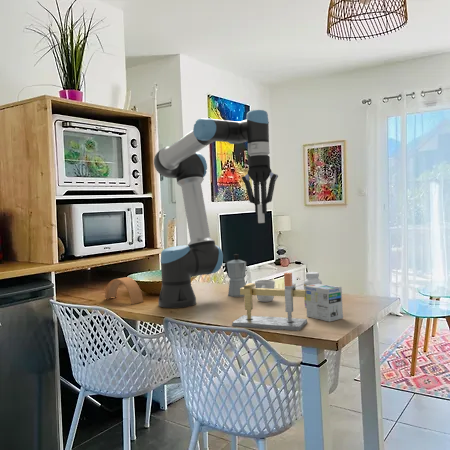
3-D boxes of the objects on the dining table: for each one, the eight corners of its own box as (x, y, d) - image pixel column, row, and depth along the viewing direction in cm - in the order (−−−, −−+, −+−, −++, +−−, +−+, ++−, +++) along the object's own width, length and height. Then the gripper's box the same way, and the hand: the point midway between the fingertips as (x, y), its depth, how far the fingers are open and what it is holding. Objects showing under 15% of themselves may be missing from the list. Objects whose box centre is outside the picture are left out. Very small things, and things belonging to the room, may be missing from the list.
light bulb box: (343, 318, 151) (342, 286, 151) (329, 322, 147) (328, 289, 147) (319, 313, 160) (318, 282, 160) (305, 316, 156) (304, 285, 156)
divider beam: (238, 319, 151) (236, 285, 151) (243, 315, 156) (242, 282, 155) (303, 323, 142) (302, 287, 142) (307, 319, 147) (306, 284, 146)
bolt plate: (232, 326, 148) (232, 322, 148) (243, 318, 157) (243, 315, 157) (299, 330, 139) (299, 326, 139) (307, 322, 148) (306, 318, 148)
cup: (273, 304, 178) (273, 283, 178) (253, 304, 180) (252, 284, 179) (276, 298, 189) (275, 279, 188) (257, 298, 190) (256, 279, 190)
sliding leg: (285, 321, 145) (284, 273, 144) (290, 317, 150) (289, 270, 149) (292, 321, 144) (290, 273, 143) (296, 317, 149) (295, 271, 148)
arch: (131, 304, 189) (130, 280, 189) (104, 299, 203) (103, 277, 203) (143, 302, 194) (142, 278, 193) (116, 297, 207) (115, 275, 207)
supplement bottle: (326, 306, 170) (325, 272, 170) (316, 309, 166) (315, 274, 165) (311, 304, 175) (310, 271, 175) (301, 307, 170) (299, 273, 170)
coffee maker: (254, 295, 197) (253, 254, 197) (238, 298, 192) (236, 255, 192) (234, 291, 210) (232, 252, 209) (218, 294, 205) (216, 253, 204)
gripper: (237, 156, 159) (240, 223, 160) (273, 152, 154) (276, 222, 155) (245, 158, 166) (247, 222, 167) (279, 154, 161) (282, 221, 162)
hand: (261, 222), depth 161 cm, fingers closed
